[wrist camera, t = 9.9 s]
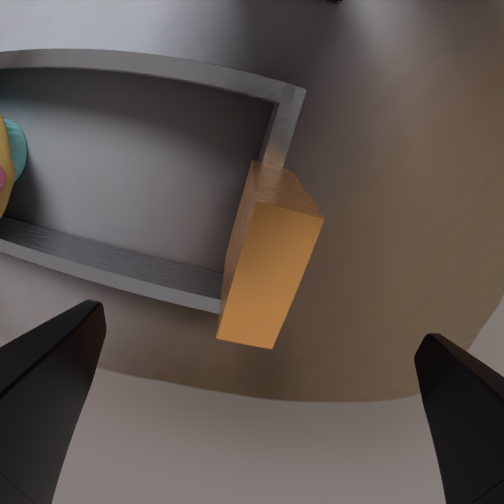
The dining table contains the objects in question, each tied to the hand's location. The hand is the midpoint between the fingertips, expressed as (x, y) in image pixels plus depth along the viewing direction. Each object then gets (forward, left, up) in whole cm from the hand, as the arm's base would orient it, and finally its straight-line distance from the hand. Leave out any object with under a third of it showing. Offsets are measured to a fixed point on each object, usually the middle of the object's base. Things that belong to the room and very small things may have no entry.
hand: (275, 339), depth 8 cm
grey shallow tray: (+11, 0, -12) cm, 16 cm away
